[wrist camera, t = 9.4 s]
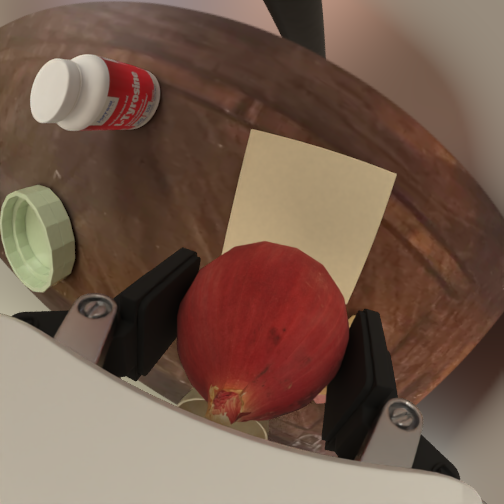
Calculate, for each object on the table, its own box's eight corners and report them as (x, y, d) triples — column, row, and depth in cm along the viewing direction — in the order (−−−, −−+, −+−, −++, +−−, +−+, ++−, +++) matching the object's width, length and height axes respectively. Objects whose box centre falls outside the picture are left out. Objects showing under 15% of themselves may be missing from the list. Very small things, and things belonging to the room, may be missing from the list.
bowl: (22, 177, 31) (-2, 183, 27) (78, 196, 29) (50, 205, 25) (26, 260, 36) (5, 271, 32) (79, 292, 34) (57, 308, 30)
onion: (368, 302, 13) (386, 456, 5) (266, 351, 15) (216, 485, 8) (297, 193, 12) (243, 273, 5) (196, 262, 14) (85, 367, 7)
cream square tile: (252, 129, 23) (251, 128, 22) (395, 173, 21) (396, 174, 21) (221, 260, 27) (219, 262, 27) (346, 301, 26) (347, 304, 25)
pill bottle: (151, 136, 25) (60, 142, 15) (105, 122, 25) (18, 126, 15) (171, 74, 22) (86, 48, 12) (123, 65, 23) (38, 48, 13)
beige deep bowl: (184, 375, 34) (158, 414, 28) (233, 338, 30) (209, 385, 24) (242, 420, 35) (226, 461, 28) (298, 393, 31) (288, 442, 24)
